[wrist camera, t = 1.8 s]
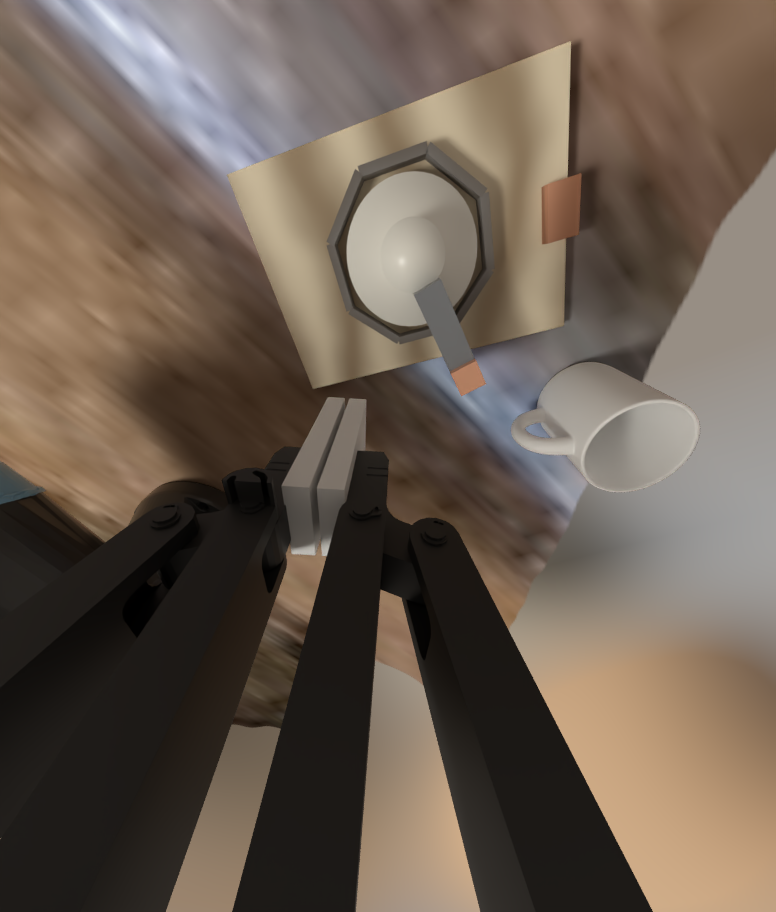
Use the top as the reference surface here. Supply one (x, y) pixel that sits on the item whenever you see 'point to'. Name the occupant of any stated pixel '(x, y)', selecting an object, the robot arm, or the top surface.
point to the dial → (417, 261)
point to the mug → (610, 427)
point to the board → (464, 167)
